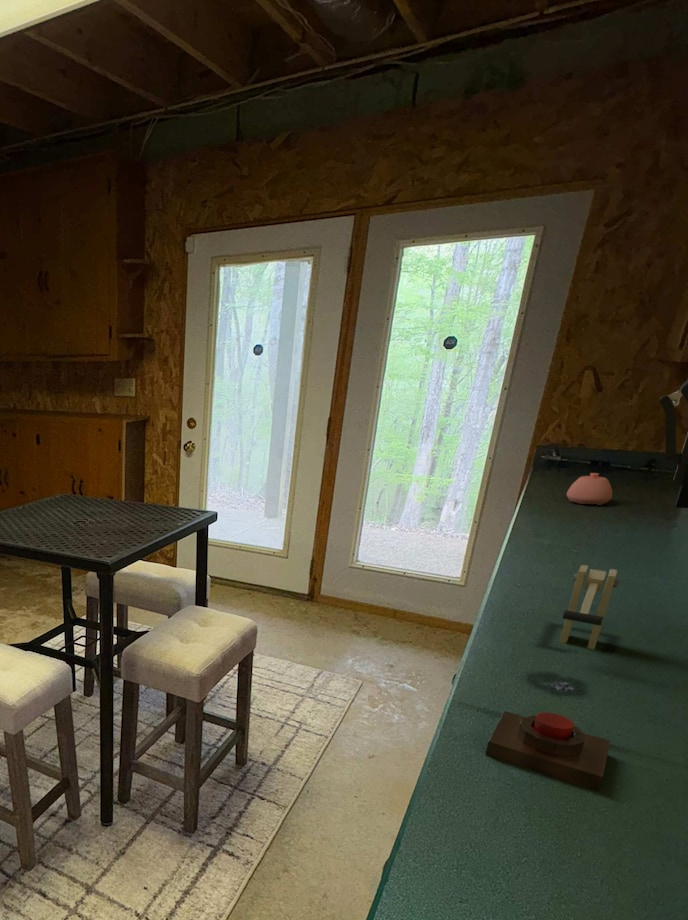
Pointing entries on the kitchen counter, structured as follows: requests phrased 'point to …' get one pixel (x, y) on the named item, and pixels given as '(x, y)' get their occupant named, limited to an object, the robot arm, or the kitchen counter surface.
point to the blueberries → (561, 686)
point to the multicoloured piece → (588, 599)
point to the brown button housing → (549, 751)
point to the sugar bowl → (590, 490)
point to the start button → (553, 725)
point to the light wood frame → (574, 602)
